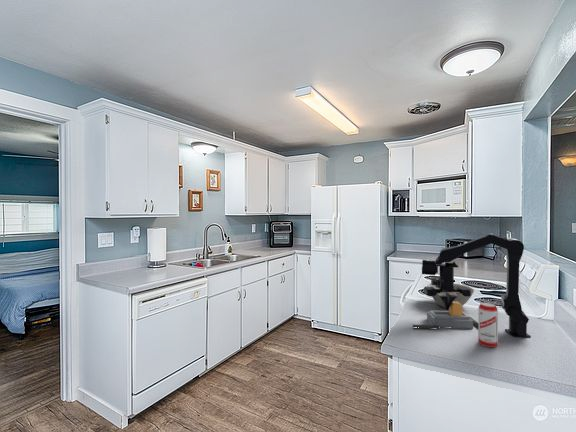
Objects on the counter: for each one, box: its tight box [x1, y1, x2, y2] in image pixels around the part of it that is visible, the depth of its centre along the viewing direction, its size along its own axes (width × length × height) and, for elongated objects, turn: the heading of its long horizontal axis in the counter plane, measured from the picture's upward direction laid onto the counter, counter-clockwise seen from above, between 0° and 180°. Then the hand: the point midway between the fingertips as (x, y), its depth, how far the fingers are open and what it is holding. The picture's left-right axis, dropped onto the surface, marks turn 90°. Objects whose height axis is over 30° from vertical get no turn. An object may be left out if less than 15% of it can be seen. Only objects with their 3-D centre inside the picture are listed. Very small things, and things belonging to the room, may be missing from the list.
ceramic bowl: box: [426, 282, 475, 308], centre depth 159 cm, size 22×23×10 cm
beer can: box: [477, 301, 499, 348], centre depth 116 cm, size 6×6×16 cm
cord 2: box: [469, 316, 479, 328], centre depth 136 cm, size 11×2×2 cm, turn 173°
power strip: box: [426, 310, 474, 330], centre depth 137 cm, size 10×16×5 cm, turn 83°
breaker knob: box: [448, 301, 463, 316], centre depth 136 cm, size 4×4×6 cm
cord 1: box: [412, 324, 440, 330], centre depth 132 cm, size 2×11×2 cm, turn 83°
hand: (446, 309), depth 137 cm, fingers closed
